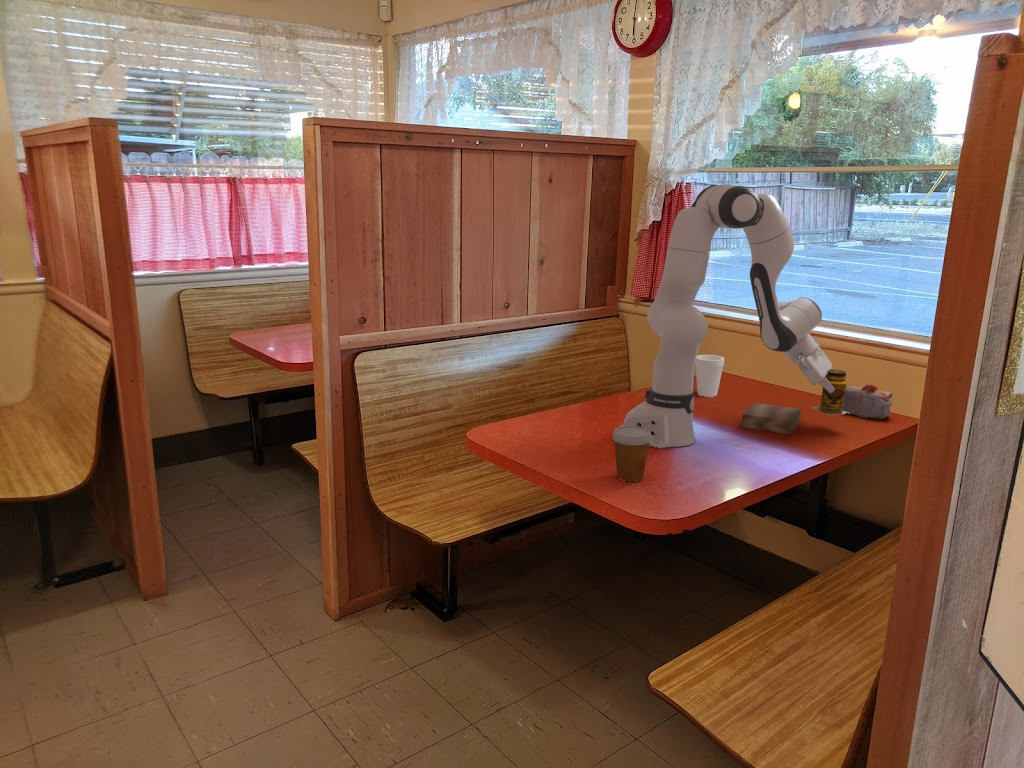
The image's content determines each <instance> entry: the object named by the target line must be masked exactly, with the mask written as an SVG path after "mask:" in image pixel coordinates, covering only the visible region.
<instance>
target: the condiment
mask: <svg viewBox="0 0 1024 768" xmlns="http://www.w3.org/2000/svg"><path fill="white" fill-rule="evenodd" d="M827 372H828V374H827V375H826V376H825V377H826V378H827V380H828V381H829V382H830V383H831V384H832V385H833V386H834V387H835V390H834V391H833V392H832V393H829V392H828V391H827V389H825V388H824V387H823V386H822V390H821V398H820V399H821V400H820V405H819V406H809V408H810V409H813V410H816V411H817V412H820V413H823V414H824V415H828V416H836V415H840V416H841V415H846V413H848V412H845V411H843V406H844V397H845V390H846V388H847V381H846V378H847V377H846V376H847V373H846V371H844V370H840V369H830V370H828V371H827Z"/></svg>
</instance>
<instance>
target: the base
mask: <svg viewBox="0 0 1024 768" xmlns="http://www.w3.org/2000/svg"><path fill="white" fill-rule="evenodd" d="M801 412H802V409H801V408H793V407H787V406H779V405H772V404H764V403H759V402H758V403H756V402H753V403H752V404H751V405H750V406H749V407H747V409H746V410H745V411H744V412H743V413H742V417H741V419H742V420H741V428H744V429H751V430H756V431H757V430H758V431H764V432H770V433H776V434H785V435H790V436H791V435H792V434H793V433H794V431H795V429H796V428H797V427H798V426H799V424H800V422H801Z"/></svg>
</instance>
